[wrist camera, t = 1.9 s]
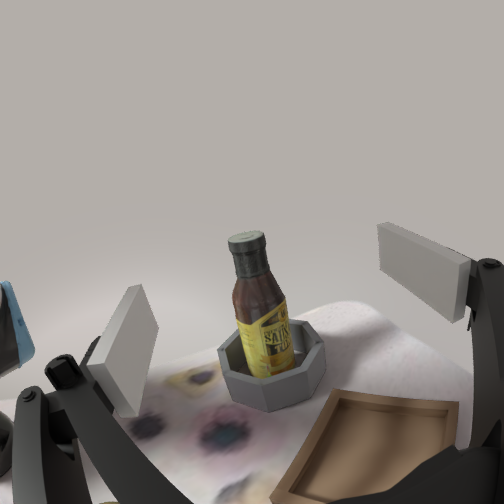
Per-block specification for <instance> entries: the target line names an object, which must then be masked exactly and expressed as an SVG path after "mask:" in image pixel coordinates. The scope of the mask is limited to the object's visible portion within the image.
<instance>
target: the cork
mask: <svg viewBox="0 0 504 504" xmlns="http://www.w3.org/2000/svg"><path fill="white" fill-rule="evenodd" d="M100 504H120V503H119V502H104V503H100Z"/></svg>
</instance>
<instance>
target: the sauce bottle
mask: <svg viewBox="0 0 504 504" xmlns="http://www.w3.org/2000/svg"><path fill="white" fill-rule="evenodd" d="M228 245H229V250H230V252H231V253H232V255H233V258H234V264H235V268H236V275H237V281H236V284H235V287H234V290H233V294H232V299H233V305H234V308H235V313H236V320H237V325H238V329H239V332H240V336H241V340H242V344H243V348H244V352H245V356H246V360H247V363H248V367H249V371H250V373H251V374H252V377H256V378H260V379H265V378H268V377H271V376H274V375H277V374H280V373H283V372H286V371H289V370H292V369H295V357H294V350H293V343H292V337H291V330H290V324H289V318H288V311H287V305H286V299H285V296H284V294H283V293H282V291H281V289H280V287H279V285H278V284H277V282H276V280H275V278H274V276H273V274H272V273H271V271H270V267H269V264H268V261H267V255H266V250H265V247H266V240H265V236H264V233H262V232H260V231H249V232H244V233H240V234H237V235H234V236H232V237H230V238H229V239H228Z"/></svg>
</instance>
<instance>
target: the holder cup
mask: <svg viewBox="0 0 504 504" xmlns="http://www.w3.org/2000/svg"><path fill="white" fill-rule="evenodd" d="M289 324H290V330H291V337H292V343H293V350H297V351H302V352H306V353H307V354H308V355H307V357H306V358H305V360H304V361H303V363H302V365H301V366H300V367H297V368H295V369H292V370H289V371H286V372H283V373H280V374H277V375H274V376H271V377H268V378H265V379H260V378H256V377H252V376H249V375H245V374H242V373H238V372H237V371H238V370H239V369H240V368H241V366H242V365H243V364H244V363H245V362H246V361H247V360H246V356H245V352H244V348H243V344H242V340H241V336H240V332H239V329H237V330H236V331H235V332H234V333H233V334H232V335H231V336H230V337H229V338H228V339H227V340H226V341H225V342H224V343H223V344H222V345H221V346H220V347H219V348H218V349H217V351H218V356H219V360H220V365H221V369H222V373H223V376H224V379H225V382H226V384H227V387H228V389H229V392H230V395H231V397H232V400H233V401H235V402H238V403H241V404H244V405H247V406H250V407H253V408H256V409H259V410H263V411H266V412H272V411H275V410H278V409H281V408H284V407H287V406H290V405H293V404H295V403H298V402H301V401H304V400H306V399H309V398H311V396H312V394H313V393H314V391H315V389H316V387H317V385H318V384H319V382H320V380H321V378H322V376H323V374H324V372H325V371H326V362H325V351H324V341H323V340H322V339H321V338H320V336H319V335H318V334H317V333H316V331H315V330H314V329H313V328H312V326H311V325H310V324H309V323H308V321H301V320H293V319H289Z"/></svg>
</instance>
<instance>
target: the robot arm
mask: <svg viewBox="0 0 504 504" xmlns="http://www.w3.org/2000/svg"><path fill="white" fill-rule="evenodd" d="M377 228H378V241H379V258H380V270H381V271H383V272H384V273H386V274H387V275H388V276H390V277H391V278H393V279H394V280H395V281H397V282H398V283H399V284H401V285H402V286H404V287H405V288H406V289H408V290H409V291H410V292H412V293H413V294H414V295H416V296H417V297H419V298H420V299H421V300H422V301H424V302H425V303H426V304H428V305H429V306H430V307H432V308H433V309H434V310H436V311H437V312H438V313H439V314H441V315H442V316H443V317H444V318H446V319H447V320H448V321H450V322H451V323H454V322H456V321H458V320H460V319H462V318H463V317H464V313H465V306H466V305H467V306H469V307H470V308H471V313H470V319H469V324H468V329H467V331H469V330H470V327H471V332H472V343H473V344H472V345H473V360H474V361H473V362H474V403H473V422H472V433H471V440H470V444H469V447H468V448H466V449H463V450H459V451H458V450H457V449H456V447H455V446H454V445H453V444H452V445H450V446H449V447H447V448H446V449H444V450H442V451H441V452H439V453H437V454H436V455H434V456H432V457H431V458H429V459H427V460H426V461H424V462H422V463H421V464H419V465H418V466H417V467H416V468H415V469H414V470H413V471H411V472H410V473H409V474H408V475H407V476H405V477H404V478H403V479H402V480H400V481H399V482H398V483H397V484H395V485H394V486H393V487H391V488H390V489H388V490H386V491H382V492H378V493H373V494H368V495H362V496H356V497H350V498H343V499H339V500H336V501H333V502H330V503H327V504H504V265H503V264H502V263H501V262H500V261H498V260H495V259H490V258H485V259H481V260H479V261H478V262H477V261H475V260H472V259H471V258H469V257H467V256H465V255H463V254H462V255H461V254H460V253H458V252H455V251H454V250H452V249H450V248H447V247H444V246H442V245H440V244H438V243H436V242H433V241H431V240H429V239H427V238H424V237H422V236H420V235H418V234H415V233H413V232H411V231H408V230H406V229H404V228H401V227H399V226H396V225H394V224H392V223H389V222H386V223H382V224H379V225H377ZM158 329H159V327H158V325H157V322H156V320H155V318H154V315H153V313H152V310H151V308H150V305H149V303H148V300H147V297H146V295H145V292H144V290H143V287H142V285H141V284H140V285H136V286H132V287H129V288H128V289H127V291H126V293H125V295H124V296H123V298H122V300H121V301H120V303H119V305H118V307H117V308H116V310H115V312H114V314H113V315H112V317H111V319H110V321H109V323H108V325H107V327H106V328H105V330H104V332H103V334H102V336H98V337H97V338H96V339H95V340H94V341H93V342H92V343H91V345H90V347H89V349H88V351H87V352H86V354H85V357H84V358H83V360H82V362H81V364H80V365H79V366H78V365H77V363H76V361H75V359H74V358H73V356H71V355H68V354H65V355H60V356H59V357H56V358H54V359H53V360H52V361H51V362H49V363H48V365H47V366H46V368H45V374H46V376H47V377H48V379H49V380H50V382H51V383H52V385H53V386H54V387H55V389H56V391H54V392H51V393H48V394H44V393H43V391H42V390H41V388H39V387H38V386H31V387H29V388H26V389H24V391H22V392H21V394H20V395H19V397H18V399H17V403H16V411H15V420H14V423H13V422H12V421H11V420H10V418H9V417H8V416H6V415H5V414H4V413H2V412H1V411H0V476H2V475H3V474H4V473H5V472H6V471H7V470H8V469H9V468H10V467H11V465H12V489H13V504H92V501H91V497H90V494H89V490H88V486H87V483H86V479H85V475H84V471H83V466H82V462H81V457H80V452H79V447H78V441H77V438H79V440H80V442H81V444H82V445H83V447H84V449H85V451H86V453H87V454H88V456H89V458H90V459H91V461H92V463H93V465H94V466H95V468H96V469H97V471H98V473H99V474H100V476H101V477H102V479H103V480H104V482H105V483H106V485H107V486H108V488H109V489H110V491H111V492H112V494H113V495H114V497H115V498H116V499H117V501H118V502H119V503H120V504H194V503H192V502H191V501H190V500H189V499H188V498H187V497H186V496H185V495H183V494H182V493H181V492H180V491H179V490H178V489H177V488H176V487H175V486H174V485H173V484H172V483H171V482H170V481H169V480H168V479H167V478H166V477H165V476H164V475H163V474H162V473H161V472H160V471H159V470H158V469H157V468H156V467H155V466H154V465H153V464H152V463H151V462H150V461H149V460H148V458H147V457H146V456H145V455H144V454H143V453H142V452H141V451H140V449H139V448H138V447H137V446H136V445H135V444H134V442H133V441H132V440H131V439H130V438H129V436H128V435H127V434H126V433H125V432H124V430H123V429H122V428H121V427H120V425H119V424H118V423H117V421H116V420H115V419H114V418H113V416H112V414H113V411H114V409H115V410H116V412H117V413H118V414H119V416H120V417H121V418H129V417H138V415H139V410H140V405H141V401H142V396H143V391H144V387H145V382H146V378H147V374H148V369H149V365H150V361H151V357H152V353H153V349H154V345H155V341H156V337H157V333H158ZM34 353H35V347H34V344H33V341H32V339H31V336H30V334H29V331H28V329H27V326H26V324H25V322H24V320H23V316H22V314H21V311H20V308H19V305H18V303H17V300H16V297H15V294H14V292H13V288H12V286H11V284H10V282H8V281H4V282H3V281H1V282H0V378H1V377H3V376H5V375H7V374H8V373H10V372H12V371H14V370H15V369H17V368H20V367H21V366H22V365H23V364H24V363H26V362H27V361H29V360H30V359H31V358H32V357H33V356H34Z"/></svg>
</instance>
